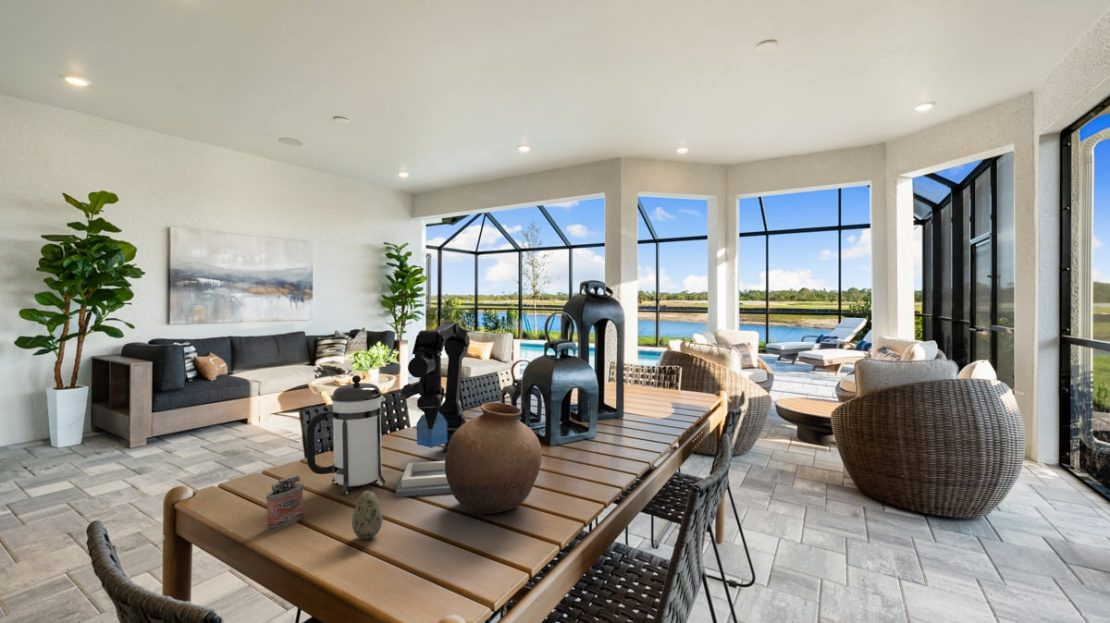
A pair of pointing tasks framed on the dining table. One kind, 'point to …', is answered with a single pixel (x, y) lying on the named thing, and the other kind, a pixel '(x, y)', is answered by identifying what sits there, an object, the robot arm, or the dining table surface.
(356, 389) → the coffee press
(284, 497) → the lighter
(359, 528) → the decorative egg
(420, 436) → the perfume bottle
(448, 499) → the dining table surface
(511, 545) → the dining table surface
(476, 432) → the pottery
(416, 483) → the socket board
